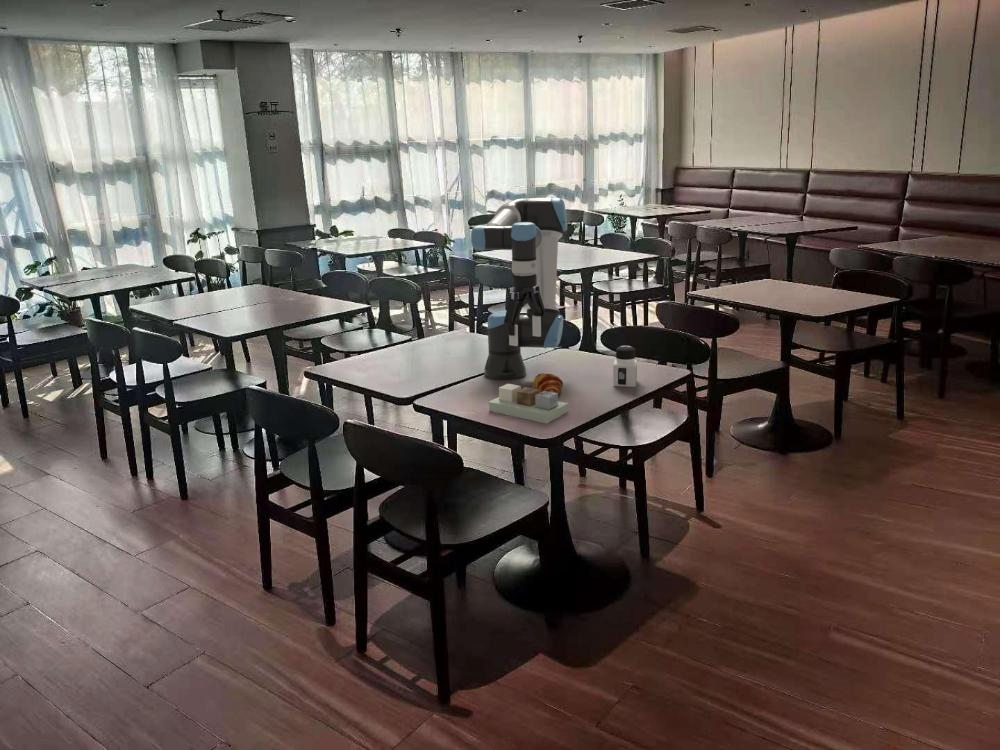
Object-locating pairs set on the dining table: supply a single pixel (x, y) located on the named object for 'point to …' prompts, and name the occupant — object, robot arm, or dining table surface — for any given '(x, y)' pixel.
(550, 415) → the pale green flat block
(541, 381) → the croissant
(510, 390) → the key ivory
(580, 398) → the dining table surface
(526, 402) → the brown wooden cube
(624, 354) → the container
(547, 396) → the white marble cube
